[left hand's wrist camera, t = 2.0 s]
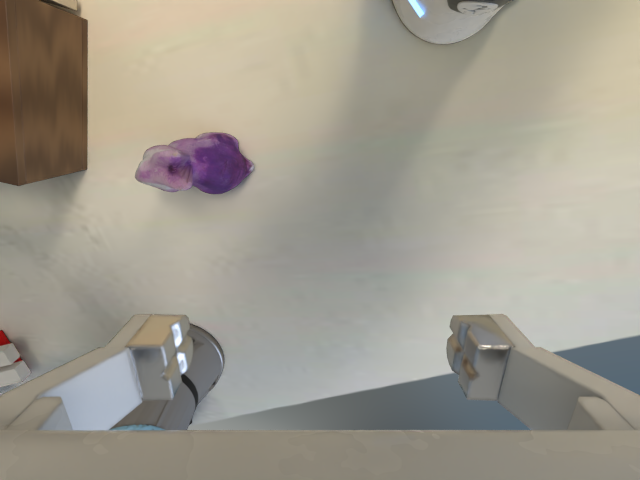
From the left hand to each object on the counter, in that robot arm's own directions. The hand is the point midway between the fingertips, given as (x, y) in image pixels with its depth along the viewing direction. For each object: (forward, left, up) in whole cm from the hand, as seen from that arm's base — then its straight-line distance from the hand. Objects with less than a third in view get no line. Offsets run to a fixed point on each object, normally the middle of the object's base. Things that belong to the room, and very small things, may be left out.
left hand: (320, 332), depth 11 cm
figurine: (+2, -15, -41) cm, 44 cm away
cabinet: (-6, -38, -41) cm, 56 cm away
